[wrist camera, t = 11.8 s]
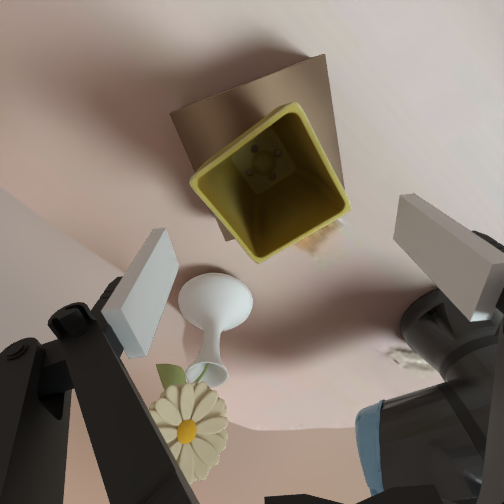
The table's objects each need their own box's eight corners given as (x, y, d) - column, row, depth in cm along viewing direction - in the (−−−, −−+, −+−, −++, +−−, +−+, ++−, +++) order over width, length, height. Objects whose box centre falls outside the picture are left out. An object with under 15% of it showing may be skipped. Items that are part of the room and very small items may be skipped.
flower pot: (324, 174, 28) (355, 210, 20) (253, 219, 30) (256, 266, 23) (279, 90, 24) (297, 97, 16) (201, 151, 26) (184, 181, 19)
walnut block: (309, 57, 27) (325, 53, 22) (332, 186, 35) (347, 205, 30) (182, 107, 29) (169, 113, 24) (228, 218, 37) (225, 241, 32)
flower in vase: (265, 303, 45) (285, 506, 24) (209, 329, 48) (181, 530, 27) (219, 245, 38) (190, 450, 17) (157, 279, 41) (68, 490, 20)
